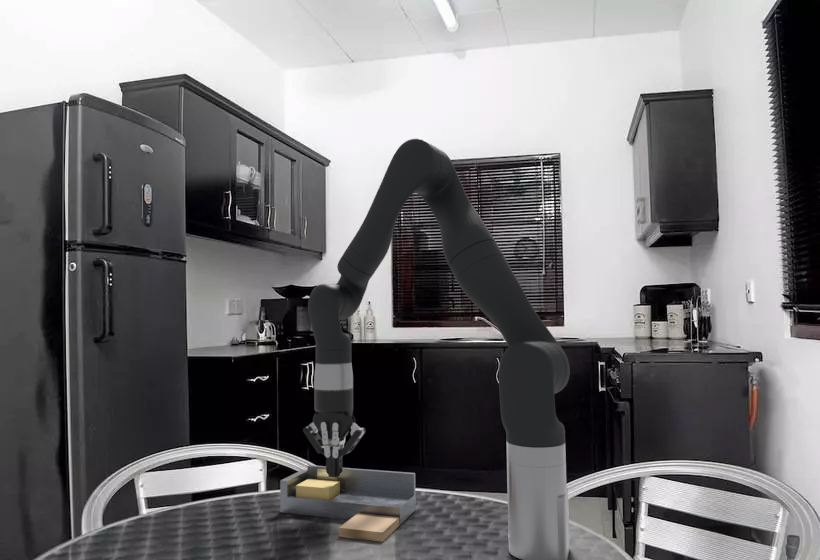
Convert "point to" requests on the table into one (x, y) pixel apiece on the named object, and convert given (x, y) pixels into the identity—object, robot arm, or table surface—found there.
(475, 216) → the robot arm
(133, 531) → the table surface
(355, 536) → the pad
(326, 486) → the yellow block with dome
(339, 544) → the table surface
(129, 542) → the table surface
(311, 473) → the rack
